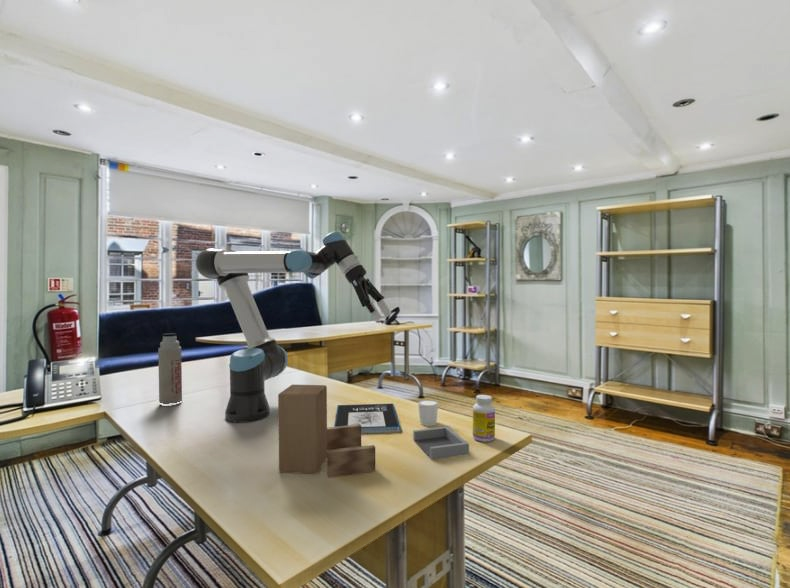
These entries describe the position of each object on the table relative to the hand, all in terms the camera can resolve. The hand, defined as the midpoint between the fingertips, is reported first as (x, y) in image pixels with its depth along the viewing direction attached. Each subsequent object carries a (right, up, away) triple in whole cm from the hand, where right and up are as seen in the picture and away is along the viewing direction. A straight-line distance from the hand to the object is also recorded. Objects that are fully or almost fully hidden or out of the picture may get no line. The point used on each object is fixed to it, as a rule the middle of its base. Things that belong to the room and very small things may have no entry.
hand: (384, 317), depth 149 cm
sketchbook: (-6, -36, -5) cm, 37 cm away
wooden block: (-20, -36, -42) cm, 59 cm away
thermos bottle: (-85, -35, +14) cm, 93 cm away
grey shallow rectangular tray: (+16, -36, -30) cm, 50 cm away
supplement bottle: (+31, -36, -24) cm, 53 cm away
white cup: (+15, -36, -10) cm, 40 cm away
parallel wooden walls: (-9, -36, -38) cm, 54 cm away
